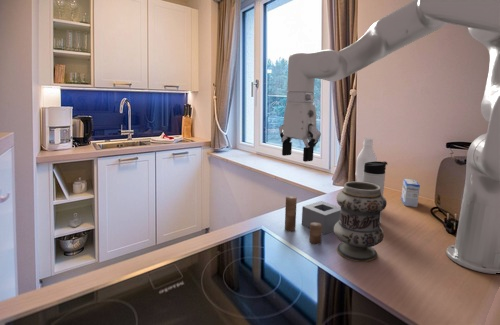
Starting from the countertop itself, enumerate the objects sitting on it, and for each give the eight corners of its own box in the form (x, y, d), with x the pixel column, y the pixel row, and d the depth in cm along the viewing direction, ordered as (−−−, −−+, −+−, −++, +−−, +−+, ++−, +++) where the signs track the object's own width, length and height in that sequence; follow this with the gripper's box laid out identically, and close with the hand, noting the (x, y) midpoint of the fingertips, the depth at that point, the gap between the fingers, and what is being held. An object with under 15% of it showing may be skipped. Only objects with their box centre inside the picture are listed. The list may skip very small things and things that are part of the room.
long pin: (297, 229, 91) (298, 198, 89) (289, 232, 89) (291, 200, 87) (290, 226, 93) (291, 195, 91) (282, 228, 91) (283, 197, 89)
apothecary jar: (369, 241, 84) (375, 178, 80) (390, 264, 72) (399, 192, 68) (326, 241, 83) (330, 179, 80) (341, 265, 72) (347, 192, 68)
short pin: (323, 242, 83) (324, 225, 82) (315, 245, 81) (316, 228, 80) (314, 238, 85) (315, 221, 84) (306, 241, 84) (307, 224, 83)
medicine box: (400, 199, 120) (403, 178, 118) (413, 200, 118) (415, 179, 116) (404, 205, 112) (406, 183, 110) (417, 207, 111) (420, 184, 109)
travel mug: (383, 226, 93) (389, 164, 89) (360, 225, 94) (366, 163, 90) (378, 219, 99) (384, 160, 95) (358, 217, 100) (363, 159, 96)
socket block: (343, 227, 93) (344, 208, 92) (324, 234, 88) (325, 215, 86) (320, 218, 100) (321, 200, 99) (301, 224, 95) (302, 206, 93)
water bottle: (352, 205, 113) (357, 138, 107) (353, 199, 119) (358, 136, 114) (372, 207, 110) (379, 140, 105) (373, 201, 116) (379, 137, 111)
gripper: (332, 99, 80) (327, 162, 83) (291, 98, 94) (288, 152, 98) (310, 99, 76) (306, 165, 80) (271, 98, 90) (269, 154, 94)
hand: (296, 158), depth 89 cm, fingers open, 9 cm apart
